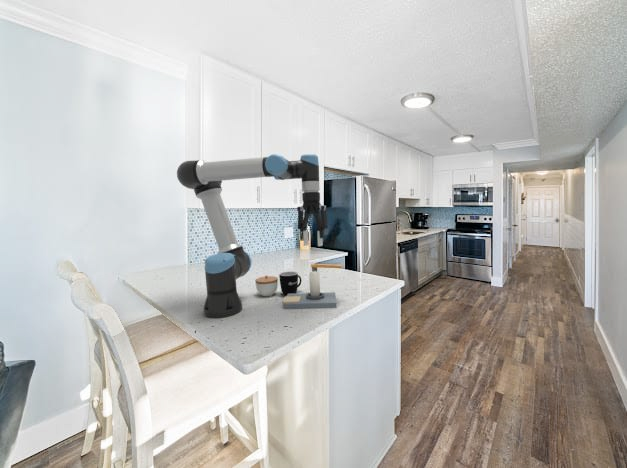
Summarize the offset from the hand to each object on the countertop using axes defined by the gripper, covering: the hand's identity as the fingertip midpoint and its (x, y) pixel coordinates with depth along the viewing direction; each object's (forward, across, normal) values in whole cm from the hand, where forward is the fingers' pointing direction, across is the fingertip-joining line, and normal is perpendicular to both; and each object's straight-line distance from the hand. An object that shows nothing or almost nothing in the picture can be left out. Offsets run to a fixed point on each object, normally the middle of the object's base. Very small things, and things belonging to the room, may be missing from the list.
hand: (313, 245), depth 119 cm
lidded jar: (+25, +27, +2) cm, 37 cm away
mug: (+25, +17, -5) cm, 31 cm away
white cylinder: (+23, 0, 0) cm, 23 cm away
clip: (+10, -3, -5) cm, 12 cm away
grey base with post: (+25, +1, +2) cm, 25 cm away
